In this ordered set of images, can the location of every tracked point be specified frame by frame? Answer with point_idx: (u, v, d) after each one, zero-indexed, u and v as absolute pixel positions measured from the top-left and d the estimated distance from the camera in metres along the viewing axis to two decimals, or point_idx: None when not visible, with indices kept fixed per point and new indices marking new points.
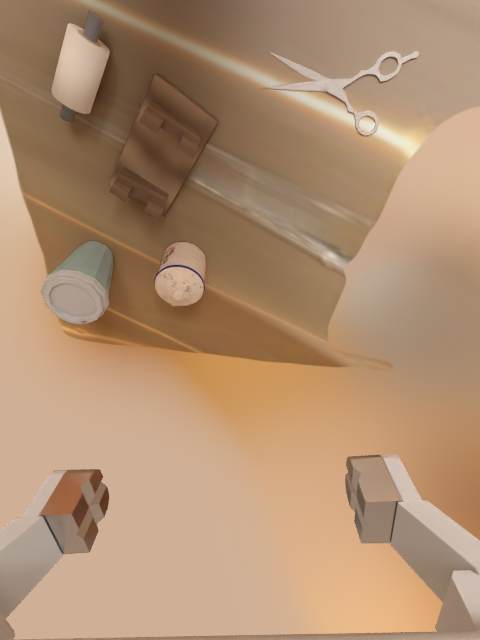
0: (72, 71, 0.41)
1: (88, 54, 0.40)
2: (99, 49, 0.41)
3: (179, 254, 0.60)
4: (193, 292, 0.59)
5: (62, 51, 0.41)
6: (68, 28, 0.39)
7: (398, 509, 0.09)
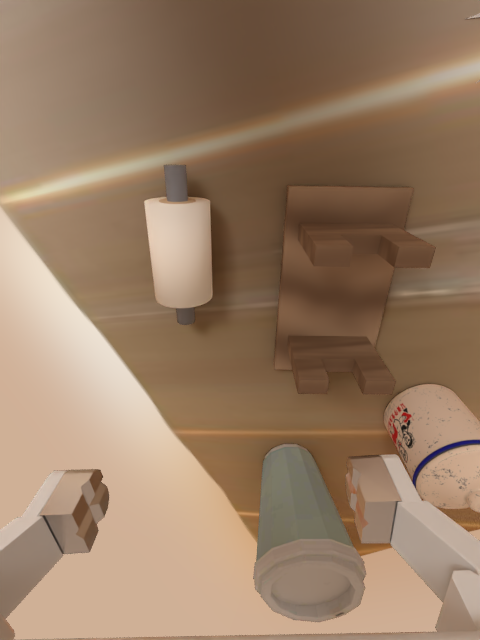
0: (165, 257, 0.25)
1: (176, 220, 0.24)
2: (190, 205, 0.24)
3: (427, 418, 0.33)
4: None
5: None
6: None
7: (398, 509, 0.09)
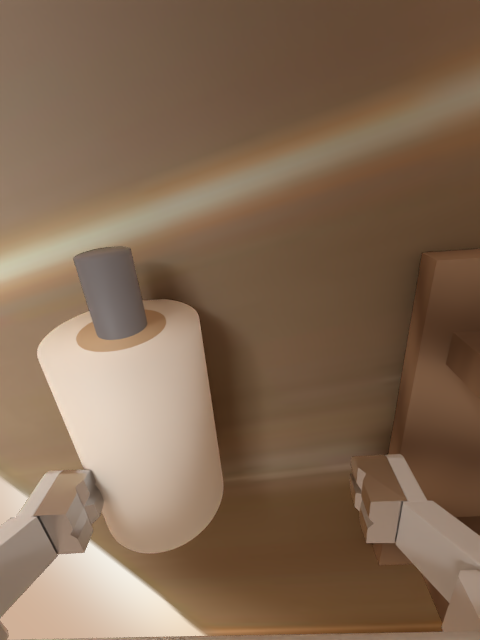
0: None
1: (53, 392, 0.10)
2: (79, 367, 0.09)
3: None
4: None
5: None
6: None
7: (403, 509, 0.09)
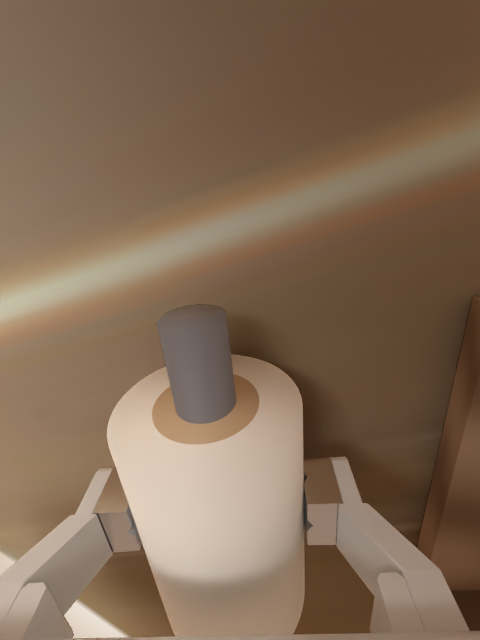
0: (145, 550, 0.09)
1: (145, 508, 0.07)
2: (193, 473, 0.07)
3: None
4: None
5: None
6: None
7: (339, 511, 0.09)
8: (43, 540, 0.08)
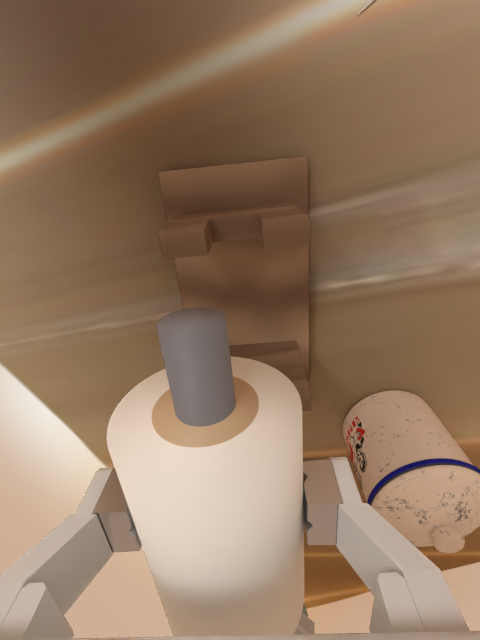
0: (145, 552, 0.09)
1: (145, 511, 0.07)
2: (193, 476, 0.07)
3: (381, 433, 0.27)
4: (475, 509, 0.23)
5: None
6: None
7: (339, 511, 0.09)
8: (43, 540, 0.08)
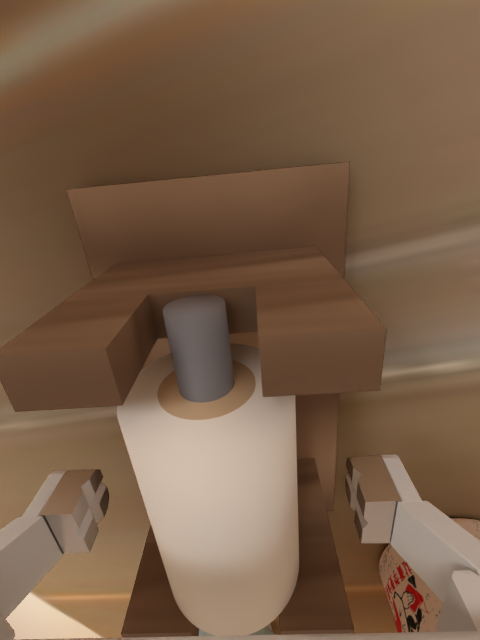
0: (149, 516, 0.10)
1: (147, 473, 0.08)
2: (188, 443, 0.08)
3: None
4: None
5: None
6: (136, 379, 0.10)
7: (398, 509, 0.09)
8: None
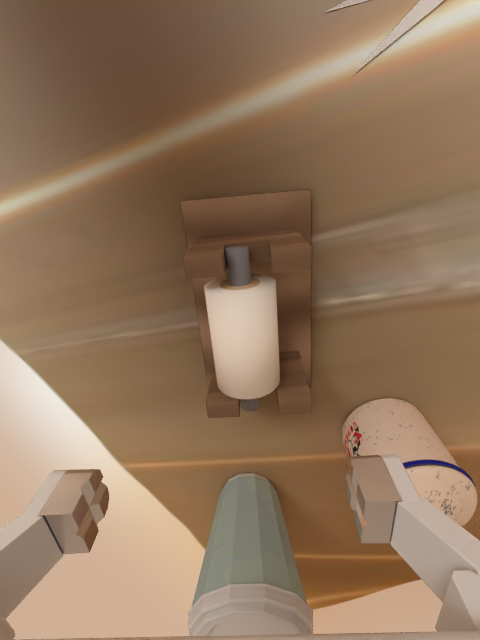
0: None
1: (206, 301, 0.23)
2: (214, 291, 0.22)
3: (376, 437, 0.30)
4: (459, 506, 0.26)
5: None
6: None
7: (398, 509, 0.09)
8: None
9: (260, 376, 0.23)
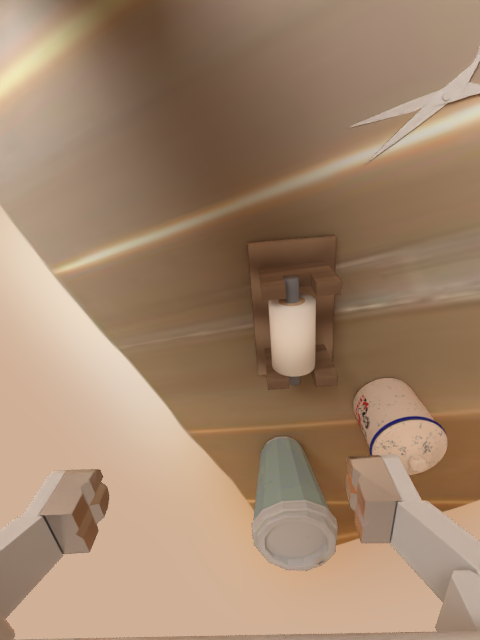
0: None
1: (269, 313, 0.35)
2: (277, 307, 0.34)
3: (379, 404, 0.42)
4: (435, 446, 0.38)
5: None
6: None
7: (398, 509, 0.09)
8: None
9: (305, 361, 0.36)
